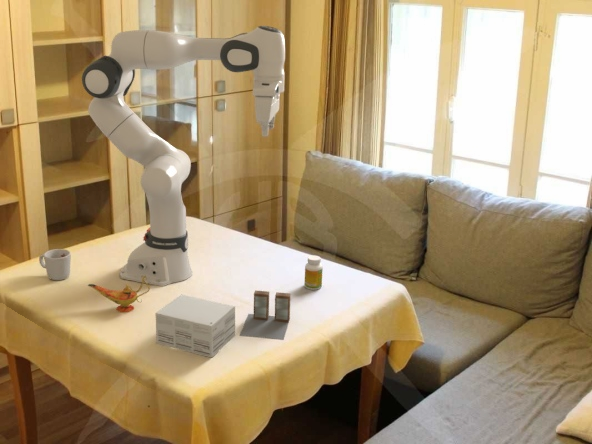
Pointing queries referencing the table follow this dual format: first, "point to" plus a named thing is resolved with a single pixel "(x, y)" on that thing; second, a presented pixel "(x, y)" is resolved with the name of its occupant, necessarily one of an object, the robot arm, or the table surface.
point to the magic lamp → (121, 296)
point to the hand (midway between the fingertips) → (267, 132)
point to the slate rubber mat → (264, 328)
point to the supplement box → (195, 325)
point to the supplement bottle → (313, 273)
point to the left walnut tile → (261, 305)
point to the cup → (56, 263)
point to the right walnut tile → (282, 307)
